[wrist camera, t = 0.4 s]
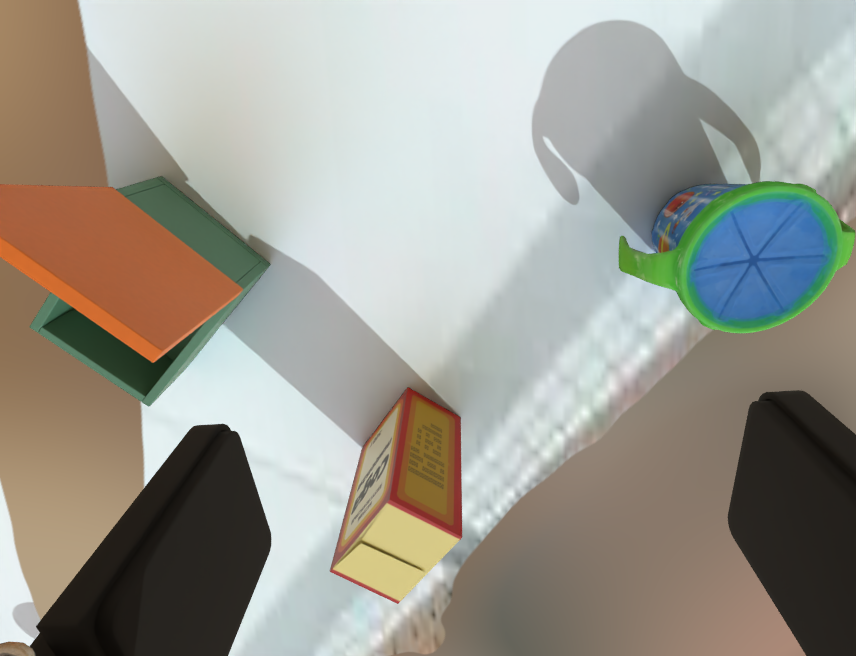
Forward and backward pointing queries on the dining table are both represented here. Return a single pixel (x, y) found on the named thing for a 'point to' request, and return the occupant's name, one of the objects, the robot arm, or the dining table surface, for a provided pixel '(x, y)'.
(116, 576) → the robot arm
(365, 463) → the baking soda box
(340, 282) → the dining table surface
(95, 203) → the lid
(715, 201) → the snack cup
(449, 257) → the dining table surface
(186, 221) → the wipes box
